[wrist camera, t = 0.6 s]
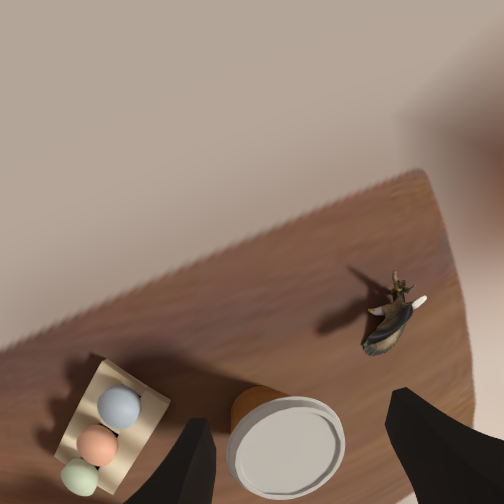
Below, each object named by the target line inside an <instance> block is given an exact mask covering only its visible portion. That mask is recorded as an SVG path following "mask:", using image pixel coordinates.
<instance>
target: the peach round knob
mask: <svg viewBox="0 0 504 504" xmlns="http://www.w3.org/2000/svg"><path fill="white" fill-rule="evenodd" d="M76 446H77V450H78V452H79V454H80V455H81V456H82V458H83V459H84V460H86V461H87V462H88V463H90V464H92V465H95V466H106V465H108V464H110V463H111V461H112V460H113V458H114V456H115V454H116V452H117V450H118V441H117V438H116V436H115V435H114V434H113V433H112V432H111V431H110V430H109V429H107V428H106V427H104V426H100V425H92V426H89V427H88V428H87V429H86V430H85V431H84V432H83V433H82V434H81V435H80V436H79V437H78V439H77V442H76Z"/></svg>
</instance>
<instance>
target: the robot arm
mask: <svg viewBox="0 0 504 504" xmlns="http://www.w3.org/2000/svg"><path fill="white" fill-rule="evenodd" d="M385 427H386V430H387V433H388V436H389V439H390V441H391V444H392V446H393V448H394V450H395V452H396V454H397V456H398V458H399V460H400V462H401V464H402V466H403V468H404V470H405V472H406V474H407V476H408V478H409V480H410V482H411V484H412V486H413V489H414V492H415V495H416V497H417V501H418V504H504V440H501V439H498V438H494V437H491V436H488V435H485V434H483V433H481V432H478V431H476V430H474V429H471V428H469V427H467V426H465V425H463V424H462V423H460V422H458V421H456V420H454V419H453V418H451V417H449V416H448V415H446V414H444V413H443V412H441V411H440V410H438V409H437V408H435V407H434V406H432V405H431V404H429V403H428V402H427V401H425V400H424V399H422V398H421V397H420V396H418V395H417V394H415V393H414V392H412V391H411V390H410V389H408V388H407V387H404V388H401V389H397V390H394V391H393V392H392V397H391V401H390V405H389V409H388V413H387V417H386V421H385ZM215 475H216V447H215V444H214V441H213V438H212V434H211V431H210V428H209V425H208V421H207V418H191V419H189V420H188V422H187V424H186V426H185V428H184V429H183V431H182V433H181V435H180V436H179V438H178V439H177V441H176V443H175V444H174V446H173V447H172V449H171V450H170V452H169V453H168V455H167V456H166V458H165V459H164V460H163V462H162V463H161V464H160V466H159V467H158V468H157V469H156V471H155V472H154V473H153V474H152V476H151V477H150V478H149V479H148V480H147V481H146V482H145V483H144V484H143V485H142V486H141V487H140V489H139V490H138V491H137V492H135V493H134V494H133V495H132V496H131V497H130V498H129V499H128V500H126V501H125V502H124V503H123V504H211V502H212V495H213V489H214V482H215Z"/></svg>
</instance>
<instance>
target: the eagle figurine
mask: <svg viewBox="0 0 504 504" xmlns="http://www.w3.org/2000/svg"><path fill="white" fill-rule="evenodd" d="M392 278H393V281H394V289H392V290H391V295H392V297H393V303H392V304H387V305H383V306H381V307H378V308H374V309H368V311H369V312H370V313H372V314H374V315H385V316H386V317H385V320H384V321H383V322H382V323H381V324H380V325H379V326H378V327H377V329H376V330H375V332H373V333H372V334H371V335H370V336H369V337H368V338H367V339H366V342H365V343H364V344H363V345H364V346H365V347H364V350H365V351H366V354H368V355H369V356H372V355H373V356H377V355H378V354H379V355H381V354H382V353H385V352H387V351H388V350H389V349H391V348H392V346H394V345H395V343H396V342H397V341H398V339H399V337H400V336H401V334H402V332H403V330H404V328H405V325H406V323H407V321H408V320H409V319H410V317H411V316H412V314H413V309H415V308H417V307H419V306H420V305H421V304H422V303H423V302H424V301H426V299H427V297H426V296H421V297H419V298H418V299H416V300H415V301H413V302H409V303H405V297H404V292H407V293H410V292H411V291H412V290H413V289H414V288H415V286H416V285H414V286H413V287H411V288H405V286H406V285H407V282H406V281H405V280H403V281H399V280H398V278H397V272H396V270H394V271H393V273H392Z"/></svg>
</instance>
